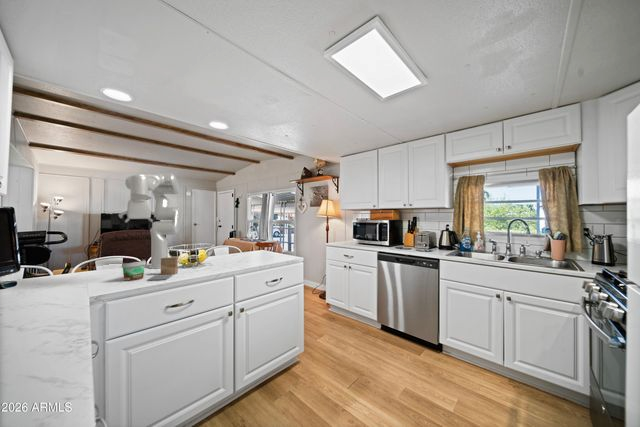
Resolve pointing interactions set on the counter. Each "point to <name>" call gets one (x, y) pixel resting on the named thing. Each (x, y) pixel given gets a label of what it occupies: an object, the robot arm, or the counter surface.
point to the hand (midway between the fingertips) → (139, 229)
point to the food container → (133, 270)
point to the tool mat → (159, 277)
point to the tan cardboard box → (169, 266)
